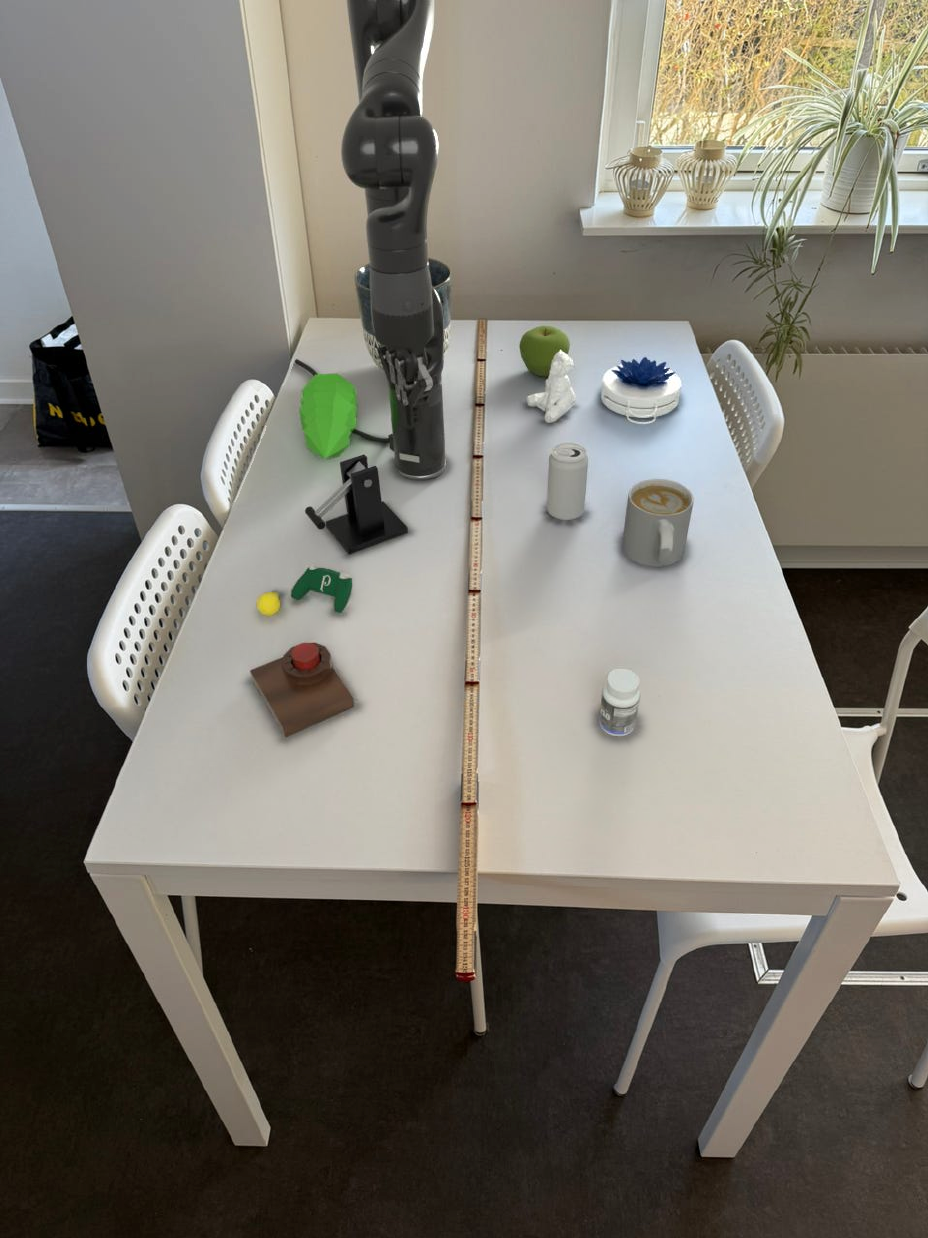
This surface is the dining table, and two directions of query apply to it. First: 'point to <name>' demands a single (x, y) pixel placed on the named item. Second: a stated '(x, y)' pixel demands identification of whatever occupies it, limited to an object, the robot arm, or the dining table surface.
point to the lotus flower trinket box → (641, 389)
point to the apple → (542, 348)
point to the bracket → (364, 511)
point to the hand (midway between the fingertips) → (411, 425)
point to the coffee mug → (657, 522)
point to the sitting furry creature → (556, 389)
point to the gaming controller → (324, 585)
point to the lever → (332, 500)
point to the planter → (439, 281)
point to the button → (305, 656)
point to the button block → (301, 691)
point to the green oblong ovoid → (328, 414)
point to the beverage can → (567, 481)
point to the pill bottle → (619, 702)
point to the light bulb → (269, 603)
